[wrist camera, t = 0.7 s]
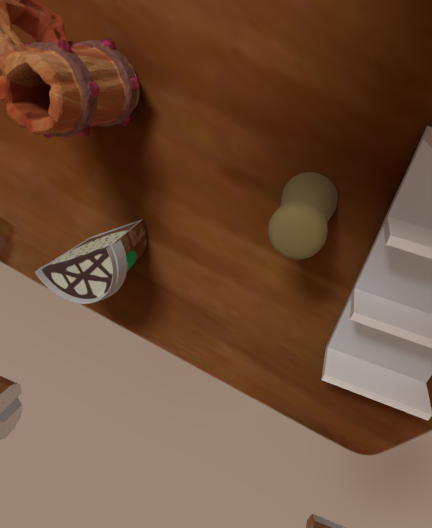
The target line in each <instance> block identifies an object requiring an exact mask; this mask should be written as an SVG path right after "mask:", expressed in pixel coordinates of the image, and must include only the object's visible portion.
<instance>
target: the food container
mask: <svg viewBox="0 0 432 528" xmlns="http://www.w3.org/2000/svg"><path fill="white" fill-rule="evenodd" d="M147 242H148V233H147V228H146V224H145V222H144V220H143V219H142V220H139V221H136V222H133V223H130V224H127V225H124V226H122V227H119V228H116V229H113V230H110V231H107V232H104V233H102V234H99V235H96V236H93V237H90V238H88V239H87V240H85V241H84V242H82V243H80V244H79V245H77V246H76V247H74V248H72V249H71V250H69V251H67V252H66V253H64V254H63V255H61V256H59V257H58V258H56V259H55V260H53V261H51V262H50V263H48V264H47V265H43V266H42V267H41V268H39V269H38V270H37V271H36V272H35V273H36V274H37V276H38V277H39V279H40V280H41V281H42V282H43V283H44V284H45V285H46V286H47V287H48V288H49V289H50V290H51V291H53V292H54V293H55V294H57V295H59V296H60V297H62V298H64V299H66V300H68V301H71V302H75V303H80V304H88V303H93V302H98V301H101V300H103V299H105V298H107V297H109V296H111V295H113V294H114V293H116V292H117V291H118V290H119V289H120V287H121V286H122V284H123V283H124V280H125V278H126V273H127V271H128V270H129V269H130V268H131V267H132V266H133V265H134V263H135V262H136V261H137V260H138V259H139V258H140V257H141V255H142V254H143V253H144V251H145V249H146V247H147Z"/></svg>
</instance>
